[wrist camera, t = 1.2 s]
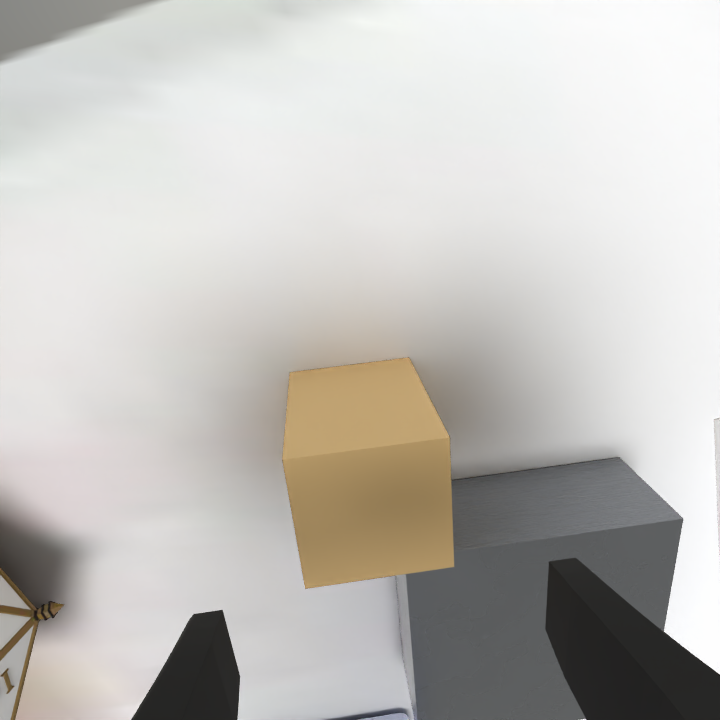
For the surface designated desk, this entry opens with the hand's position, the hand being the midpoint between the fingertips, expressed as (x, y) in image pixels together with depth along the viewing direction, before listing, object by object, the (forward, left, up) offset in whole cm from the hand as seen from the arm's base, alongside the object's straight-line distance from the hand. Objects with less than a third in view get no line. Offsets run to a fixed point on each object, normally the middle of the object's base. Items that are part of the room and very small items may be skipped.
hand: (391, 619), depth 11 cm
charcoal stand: (-8, -6, -9) cm, 14 cm away
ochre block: (0, 0, -10) cm, 10 cm away
